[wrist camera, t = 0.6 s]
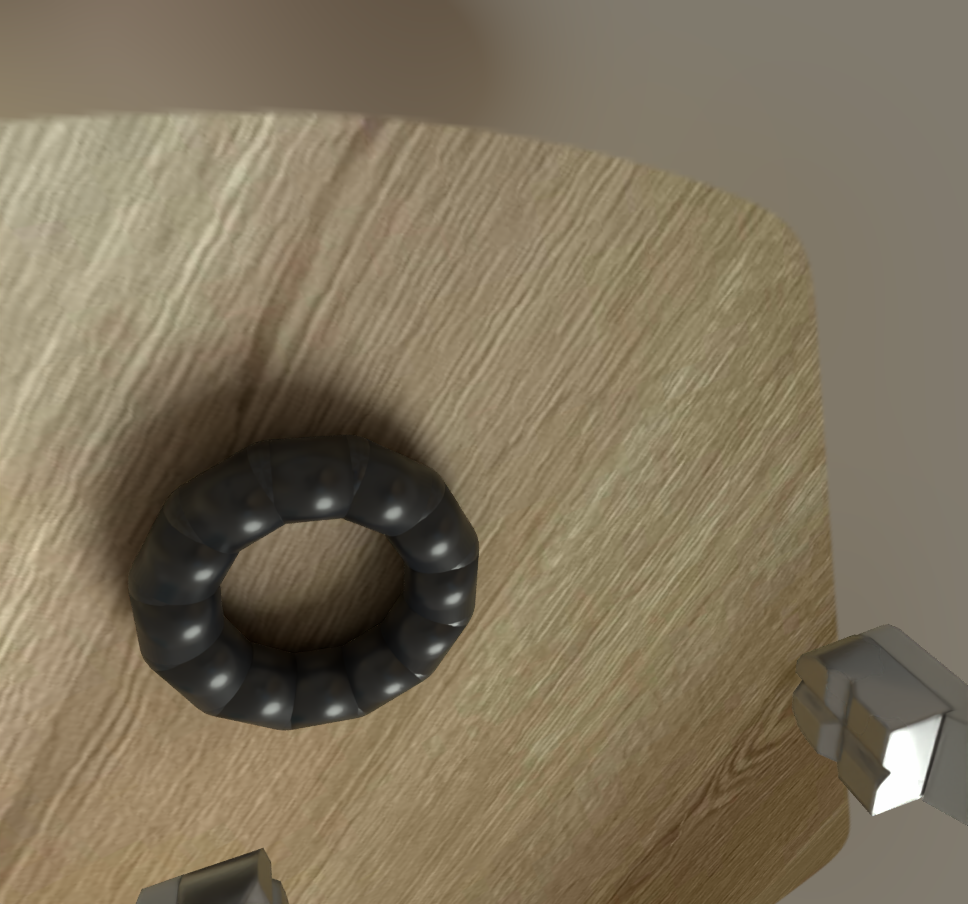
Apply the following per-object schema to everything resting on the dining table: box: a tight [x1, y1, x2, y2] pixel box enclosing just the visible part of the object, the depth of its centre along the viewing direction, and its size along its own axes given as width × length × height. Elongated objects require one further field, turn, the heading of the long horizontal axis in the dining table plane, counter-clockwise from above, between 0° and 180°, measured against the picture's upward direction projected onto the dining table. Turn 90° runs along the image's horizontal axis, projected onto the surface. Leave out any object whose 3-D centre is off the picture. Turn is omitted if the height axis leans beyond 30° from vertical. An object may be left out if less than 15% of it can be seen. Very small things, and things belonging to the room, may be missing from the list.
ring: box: [128, 435, 479, 730], centre depth 24 cm, size 11×11×3 cm
